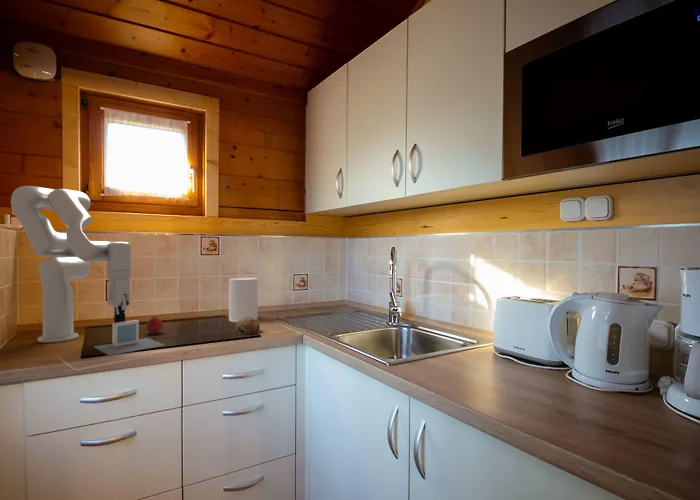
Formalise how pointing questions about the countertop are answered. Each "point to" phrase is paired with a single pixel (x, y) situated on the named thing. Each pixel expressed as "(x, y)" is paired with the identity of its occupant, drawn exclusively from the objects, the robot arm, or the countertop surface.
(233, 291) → the canister
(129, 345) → the mat
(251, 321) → the bread roll
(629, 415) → the countertop surface
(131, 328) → the picture frame
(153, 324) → the onion
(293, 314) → the countertop surface
